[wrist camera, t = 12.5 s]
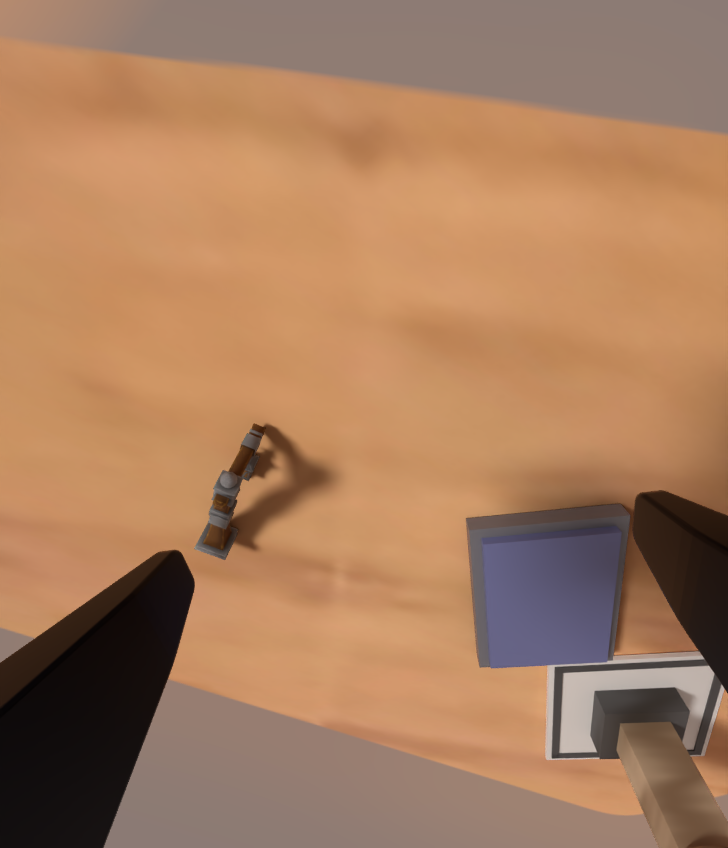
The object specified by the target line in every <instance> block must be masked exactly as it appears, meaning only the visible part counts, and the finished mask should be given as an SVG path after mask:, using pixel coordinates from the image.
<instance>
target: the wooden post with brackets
mask: <svg viewBox="0 0 728 848" xmlns="http://www.w3.org/2000/svg"><path fill="white" fill-rule="evenodd" d="M264 432H265V428H264V427H262V426H259V425H257V424H253V426H252V429H250V432H249V434H248V433H247V434H246V436H245V438H244V440H243V442H242V444H241V448H240V451H239V453H238V455H237V457H236V458H235V460H234V462H233V464H232V466H231V468H230V470H229V471H228V472H227V471H224V470H223V471H222V473H221V475H220V477H219V478H218V480H217V482H216V484H215V486H214V488H213V489H214V494H213V498H212V500H213V505H212V506H211V508H210V511H209V512H210V513H209V515H210V518H209V521H208V524H207V526H206V528H205V529H204V531H203V533H202V535H201V537H200V539H199V541H198V542H197V544H196V546H195V548H194V549H196V550H199V551H202V552H204V553H207V554H210V555H212V556H215V557H218V558H221V559H223V560H225V559H226V557H227V555H228V553H229V551H230V549H231V547H232V545H233V542H234V540H235V538H236V536H237V534H238V533H237V531H238V529H236V528H233V527H230V520H231V518H232V516H233V514H234V512H233V511H234V508H235V506H236V504H237V500H236V497H237V495H238V493H239V491H240V485H241V482H242V480H243V479H245V480H247V481H249V479H250V477H251V475H252V473H253V471H254V469H255V466H256V464H257V462H258V460H259V458H260V456H258V455H255V453H256V451H257V449H258V447H259V445H260V441H261V439H262V436H263V435H264Z"/></svg>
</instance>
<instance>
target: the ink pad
mask: <svg viewBox="0 0 728 848" xmlns="http://www.w3.org/2000/svg"><path fill="white" fill-rule="evenodd" d="M629 523H630V514H629V513H628V512H627V511H626V510H625V508H624V507H623V506H622V505H621V504H611V505H600V506H590V507H579V508H569V509H559V510H548V511H538V512H527V513H517V514H506V515H496V516H485V517H475V518H466V524H467V537H468V549H469V562H470V575H471V587H472V600H473V612H474V625H475V637H476V650H477V657H478V662H479V666H480V667H491V668H506V667H526V666H545V665H565V664H584V663H603V662H607V661H613V655H614V647H615V638H616V630H617V622H618V614H619V605H620V597H621V589H622V581H623V573H624V564H625V556H626V548H627V540H628V531H629Z"/></svg>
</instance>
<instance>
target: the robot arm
mask: <svg viewBox="0 0 728 848" xmlns="http://www.w3.org/2000/svg"><path fill="white" fill-rule="evenodd" d="M633 536H634V539H635V541H636V544H637V545H638V547H639V549H640V551H641V553H642V555H643V557H644V558H645V560H646V562H647V564H648V566H649V568H650V570H651V571H652V573H653V575H654V577H655V579H656V581H657V582H658V584H659V586H660V588H661V590H662V592H663V594H664V595H665V597H666V599H667V601H668V603H669V605H670V607H671V608H672V610H673V612H674V613H675V615H676V617H677V619H678V620H679V622H680V623H681V625H682V627H683V628H684V630H685V631H686V633H687V634H688V636H689V637H690V639H691V640H692V642H693V643H694V644H695V646H696V647H697V649H698V650H699V652H700V653H701V655H702V656H703V658H704V659H705V661H706V662H707V664H708V665H709V667H710V668H711V669H712V671H713V672H714V674H715V675H716V677H717V678H718V680H719V681H720V683H721V684H722V686H723V687H724V689H725V690H726V692H727V693H728V516H727V515H725V514H722V513H720V512H717V511H714V510H712V509H709V508H707V507H704V506H702V505H699V504H697V503H694V502H692V501H689V500H687V499H684V498H682V497H679V496H677V495H674V494H671V493H669V492H666V491H662V490H659V491H651V492H642V493H640V494H638V495H637V497H636V499H635V507H634V517H633ZM194 587H195V582H194V578H193V575H192V573H191V571H190V569H189V567H188V565H187V563H186V561H185V559H184V557H183V555H182V553H181V552H180V551H178V550H169V551H161V552H158V553H156V554H155V555H153V556H152V557H150V558H149V559H147V560H146V561H145V562H143V563H142V564H140V565H139V566H137V567H136V568H135V569H133V570H132V571H130V572H129V573H128V574H126V575H125V576H123V577H122V578H120V579H119V580H118V581H116V582H115V583H113V584H112V585H110V586H109V587H108V588H106V589H105V590H103V591H102V592H100V593H99V594H98V595H96V596H95V597H93V598H92V599H90V600H89V601H88V602H86V603H85V604H83V605H82V606H80V607H79V608H78V609H76V610H75V611H73V612H72V613H71V614H69V615H68V616H66V617H65V618H63V619H62V620H61V621H59V622H58V623H56V624H55V625H53V626H52V627H51V628H49V629H48V630H46V631H45V632H43V633H42V634H41V635H39V636H38V637H36V638H35V639H33V640H32V641H31V642H29V643H28V644H26V645H25V646H23V647H22V648H21V649H19V650H18V651H16V652H15V653H14V654H12V655H11V656H9V657H8V658H6V659H5V660H4V661H2V662H1V663H0V848H104V845H105V842H106V840H107V837H108V834H109V832H110V829H111V827H112V824H113V821H114V819H115V816H116V814H117V811H118V808H119V806H120V803H121V800H122V798H123V795H124V792H125V790H126V787H127V784H128V782H129V779H130V777H131V774H132V772H133V769H134V766H135V764H136V761H137V758H138V756H139V753H140V751H141V748H142V745H143V743H144V740H145V738H146V735H147V732H148V730H149V727H150V724H151V722H152V719H153V716H154V714H155V711H156V708H157V706H158V703H159V701H160V698H161V696H162V693H163V690H164V688H165V685H166V683H167V680H168V677H169V675H170V672H171V669H172V666H173V663H174V660H175V657H176V654H177V650H178V647H179V643H180V640H181V636H182V632H183V629H184V625H185V622H186V618H187V614H188V611H189V607H190V604H191V600H192V596H193V593H194Z"/></svg>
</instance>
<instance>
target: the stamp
mask: <svg viewBox="0 0 728 848" xmlns="http://www.w3.org/2000/svg"><path fill="white" fill-rule="evenodd" d="M689 714H690V710H689V709H688V707H687V706H686V704H685V702H684V701H683V699H682V698H681V696H680V694H679V693H678V691H677V690H676V688H675V687H670V688H647V689H624V690H601V691H594V701H593V712H592V722H591V732H590V736H591V738H592V741H593V743H594V746H595V748H596V751H597V753H598V756H599V758H600V759H620V760H621V762H622V764H623V766H624V769H625V771H626V773H627V776H628V778H629V780H630V783H631V785H632V787H633V789H634V792H635V794H636V796H637V799H638V801H639V803H640V806H641V808H642V810H643V812H644V815H645V817H646V819H647V822H648V824H649V826H650V828H651V831H652V833H653V835H654V838H655V840H656V842H657V845H658V847H659V848H728V821H727V819H726V818H725V816H724V814H723V813H722V811H721V809H720V807H719V806H718V804H717V802H716V800H715V798H714V797H713V795H712V793H711V791H710V790H709V788H708V786H707V784H706V783H705V781H704V779H703V777H702V776H701V774H700V772H699V770H698V769H697V767H696V765H695V763H694V762H693V760H692V758H691V757H690V755H689V753H688V751H687V750H686V748H685V746H684V744H683V743H682V741H683V737H684V734H685V730H686V726H687V722H688V718H689Z"/></svg>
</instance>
